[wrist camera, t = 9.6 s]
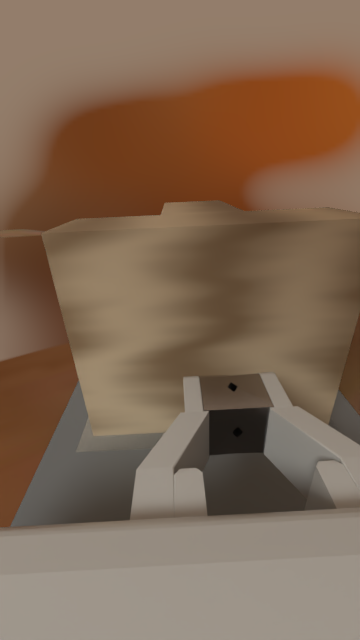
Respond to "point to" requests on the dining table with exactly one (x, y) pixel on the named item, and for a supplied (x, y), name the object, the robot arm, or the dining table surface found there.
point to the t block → (205, 305)
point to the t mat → (125, 457)
